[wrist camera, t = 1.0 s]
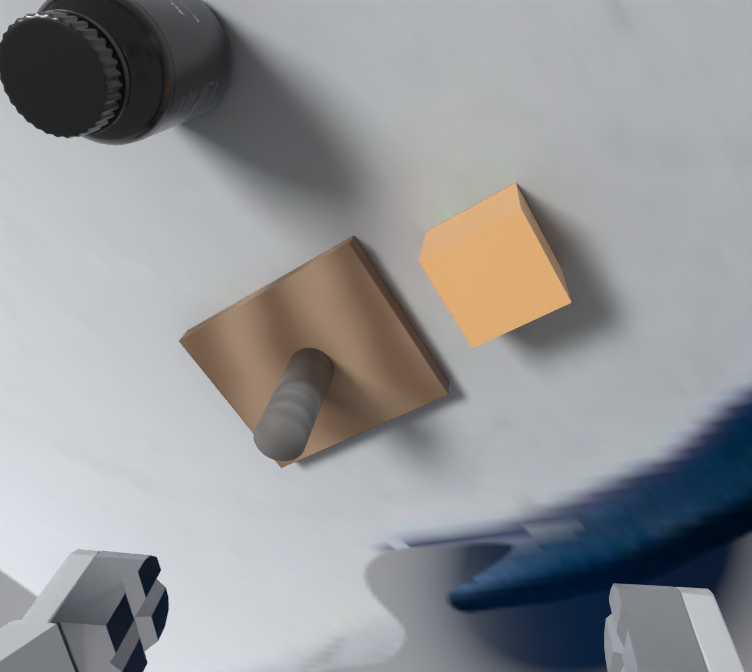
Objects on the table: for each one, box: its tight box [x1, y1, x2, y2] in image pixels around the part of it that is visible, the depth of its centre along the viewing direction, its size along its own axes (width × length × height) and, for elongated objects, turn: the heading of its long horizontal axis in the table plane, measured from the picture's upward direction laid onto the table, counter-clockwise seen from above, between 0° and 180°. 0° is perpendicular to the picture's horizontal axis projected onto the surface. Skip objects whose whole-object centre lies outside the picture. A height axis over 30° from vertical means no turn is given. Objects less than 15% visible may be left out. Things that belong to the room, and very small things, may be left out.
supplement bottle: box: [0, 0, 231, 145], centre depth 31 cm, size 7×7×12 cm
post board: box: [179, 236, 449, 468], centre depth 41 cm, size 14×12×10 cm
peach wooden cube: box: [419, 183, 572, 348], centre depth 37 cm, size 6×6×5 cm
